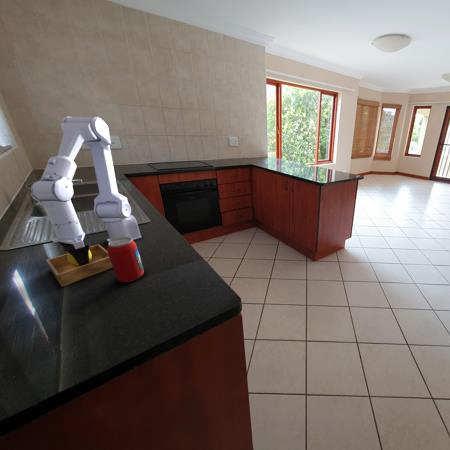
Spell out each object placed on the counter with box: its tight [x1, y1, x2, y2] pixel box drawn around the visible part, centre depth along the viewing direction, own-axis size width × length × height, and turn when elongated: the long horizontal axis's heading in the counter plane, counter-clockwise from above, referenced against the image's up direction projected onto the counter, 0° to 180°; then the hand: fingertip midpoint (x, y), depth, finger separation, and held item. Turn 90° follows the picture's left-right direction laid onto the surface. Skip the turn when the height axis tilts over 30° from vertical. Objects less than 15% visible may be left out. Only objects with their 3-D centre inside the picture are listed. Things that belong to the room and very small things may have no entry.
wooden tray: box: [45, 243, 113, 287], centre depth 74 cm, size 13×13×4 cm
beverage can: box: [106, 237, 145, 283], centre depth 68 cm, size 7×7×12 cm
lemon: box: [66, 250, 92, 267], centre depth 73 cm, size 6×6×8 cm
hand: (81, 261), depth 74 cm, fingers closed on lemon, 5 cm apart
